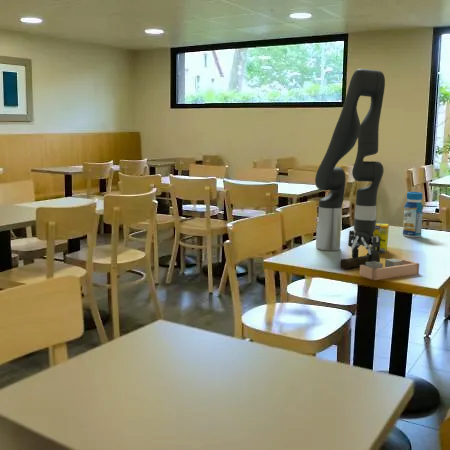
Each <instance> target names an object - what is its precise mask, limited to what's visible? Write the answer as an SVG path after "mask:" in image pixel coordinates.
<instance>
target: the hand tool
mask: <svg viewBox="0 0 450 450" xmlns="http://www.w3.org/2000/svg"><path fill="white" fill-rule="evenodd" d="M368 254H369V253H368V252H367V253H366V254H365V255H362V256H361V255H360V256H358V257H356V258H352V257H350V258H341V259H340V261H339V266H340V269H341V270H344V271H346V270H351V268H357V267H360V265H364V266H366V262H368ZM375 261H376V262H380V263H381V255H380V253H377V254H375Z"/></svg>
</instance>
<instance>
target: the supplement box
mask: <svg viewBox="0 0 450 450" xmlns="http://www.w3.org/2000/svg"><path fill="white" fill-rule="evenodd" d="M389 227H390V224H389V223H378V222H376V230H375V231H374V232H373V235H374V236H375V237H380V253H382V254H386V253H387V251H388V244H389V243H388V242H389ZM376 250H377V247H376ZM371 251H372V249H371Z"/></svg>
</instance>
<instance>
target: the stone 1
mask: <svg viewBox="0 0 450 450" xmlns="http://www.w3.org/2000/svg"><path fill="white" fill-rule="evenodd" d="M383 265H384V264H383V262H381V261H380V262H376V261H371V262H366V265H365V266H367V267H370V268H373V269H377V268H384V267H383Z"/></svg>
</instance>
